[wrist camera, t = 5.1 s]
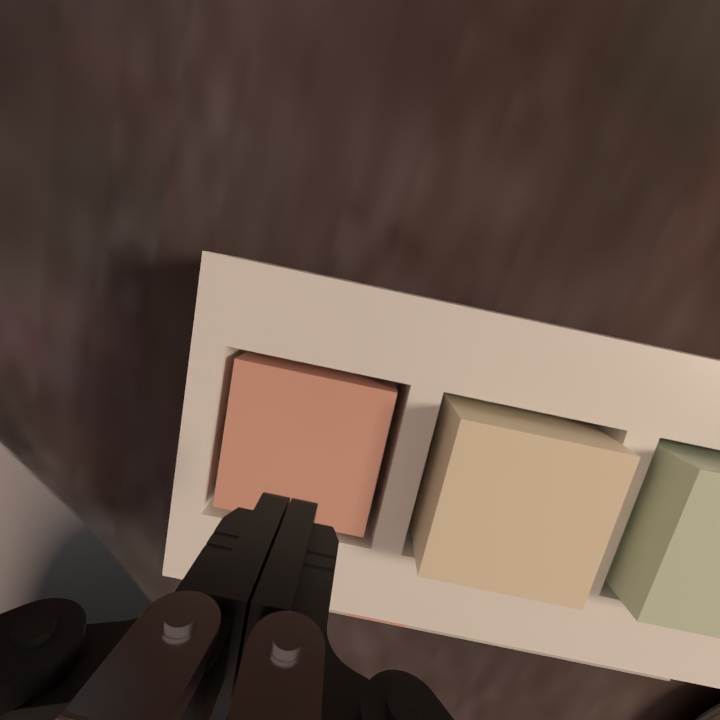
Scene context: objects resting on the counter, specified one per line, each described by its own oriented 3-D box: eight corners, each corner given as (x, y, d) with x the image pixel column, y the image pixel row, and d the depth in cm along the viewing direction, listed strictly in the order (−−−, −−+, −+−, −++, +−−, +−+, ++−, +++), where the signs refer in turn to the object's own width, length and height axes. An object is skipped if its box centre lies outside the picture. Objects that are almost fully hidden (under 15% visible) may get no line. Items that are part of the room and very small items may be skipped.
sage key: (784, 464, 16) (877, 506, 13) (726, 590, 17) (799, 655, 14) (639, 434, 16) (700, 469, 13) (591, 562, 17) (636, 621, 14)
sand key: (590, 424, 16) (640, 456, 13) (546, 553, 17) (582, 610, 14) (444, 392, 16) (460, 418, 13) (409, 525, 17) (417, 576, 14)
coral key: (393, 373, 17) (397, 392, 14) (364, 496, 18) (363, 537, 16) (258, 345, 17) (234, 358, 14) (238, 470, 18) (212, 506, 15)
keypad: (772, 370, 19) (914, 402, 14) (649, 654, 22) (729, 761, 17) (247, 258, 18) (202, 250, 13) (202, 563, 22) (153, 645, 17)
